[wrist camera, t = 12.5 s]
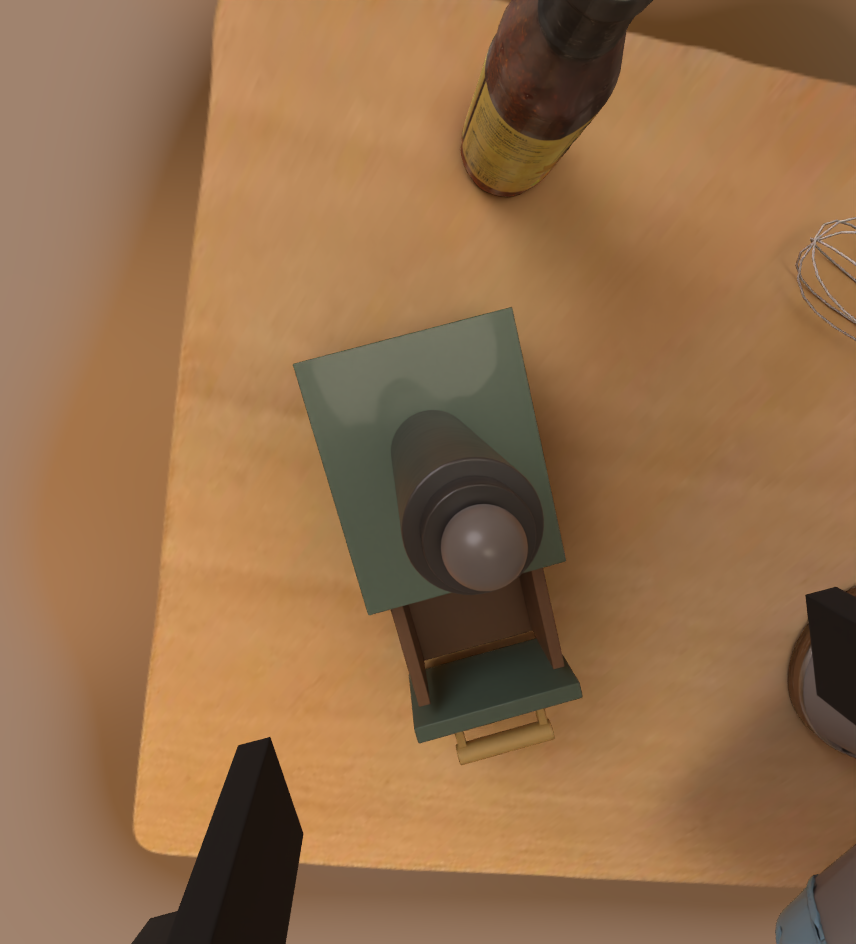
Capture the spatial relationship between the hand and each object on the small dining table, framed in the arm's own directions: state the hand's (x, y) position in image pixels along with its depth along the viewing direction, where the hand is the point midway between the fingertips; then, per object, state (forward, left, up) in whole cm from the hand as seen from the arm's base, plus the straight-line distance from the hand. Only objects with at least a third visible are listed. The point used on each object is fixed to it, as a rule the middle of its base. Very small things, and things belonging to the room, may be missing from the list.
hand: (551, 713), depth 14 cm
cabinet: (+2, 0, -30) cm, 30 cm away
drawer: (-11, 0, -29) cm, 31 cm away
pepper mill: (+3, 0, -21) cm, 22 cm away
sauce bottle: (+20, -10, -30) cm, 37 cm away
